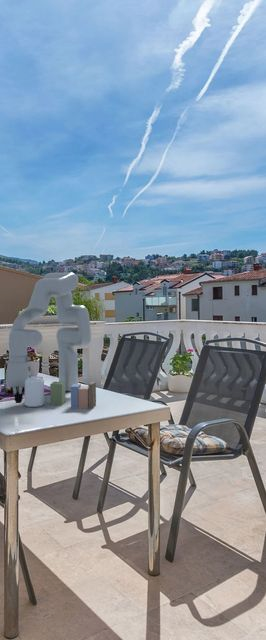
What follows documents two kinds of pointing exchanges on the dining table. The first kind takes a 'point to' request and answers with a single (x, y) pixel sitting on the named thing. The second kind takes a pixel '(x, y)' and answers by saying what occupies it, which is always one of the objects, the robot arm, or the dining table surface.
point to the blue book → (74, 395)
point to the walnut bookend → (92, 394)
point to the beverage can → (34, 391)
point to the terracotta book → (83, 397)
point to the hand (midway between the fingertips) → (18, 402)
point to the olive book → (57, 393)
